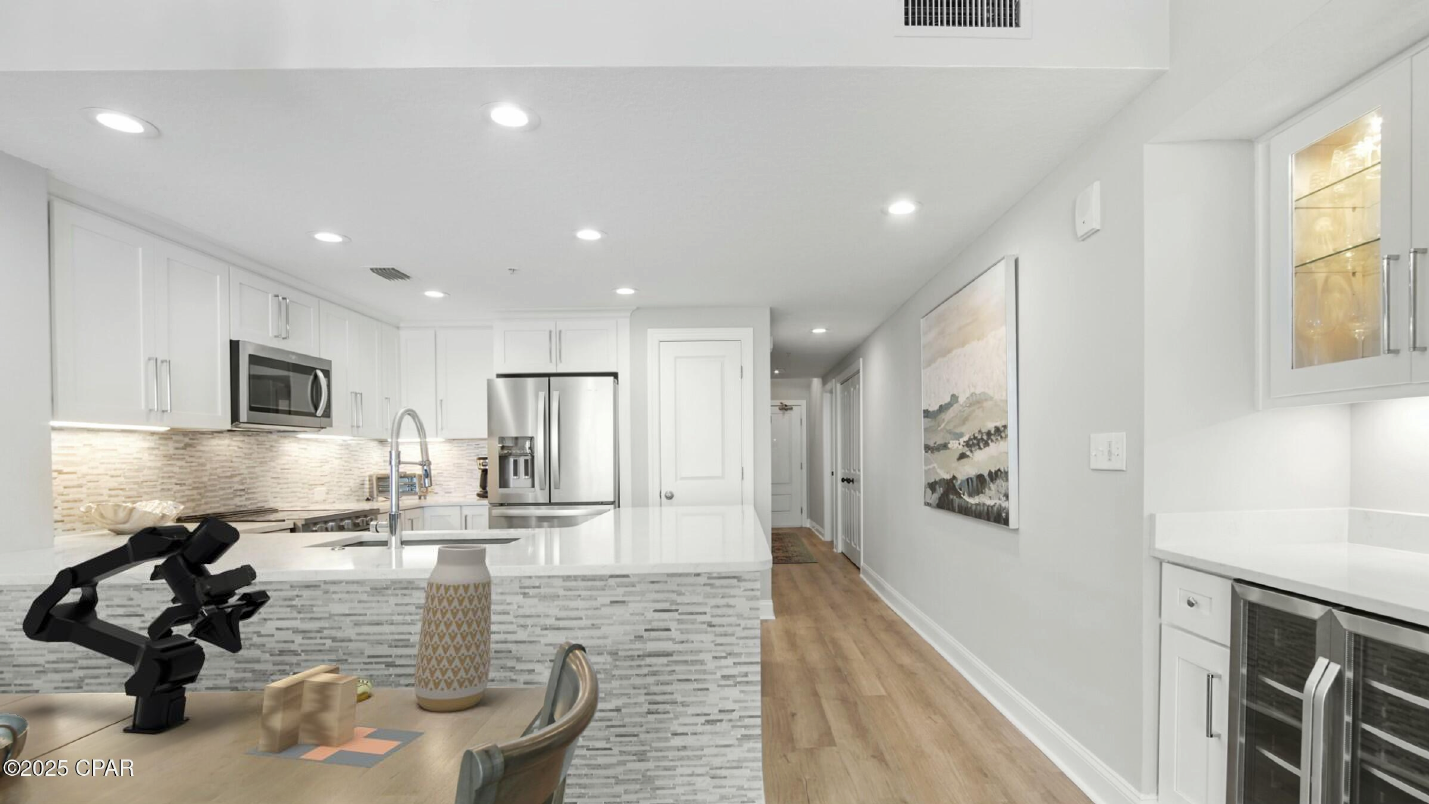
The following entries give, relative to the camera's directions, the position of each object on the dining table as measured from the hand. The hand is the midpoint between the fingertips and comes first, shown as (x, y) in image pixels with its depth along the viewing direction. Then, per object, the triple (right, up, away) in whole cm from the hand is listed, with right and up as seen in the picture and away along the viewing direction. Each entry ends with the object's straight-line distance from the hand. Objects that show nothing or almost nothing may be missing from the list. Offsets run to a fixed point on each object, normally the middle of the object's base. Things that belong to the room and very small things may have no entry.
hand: (238, 651), depth 111 cm
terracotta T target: (+24, -14, -6) cm, 29 cm away
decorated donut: (+8, -16, +16) cm, 24 cm away
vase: (+30, -17, +15) cm, 38 cm away
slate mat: (+20, -14, -5) cm, 25 cm away
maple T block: (+16, -13, -4) cm, 21 cm away
